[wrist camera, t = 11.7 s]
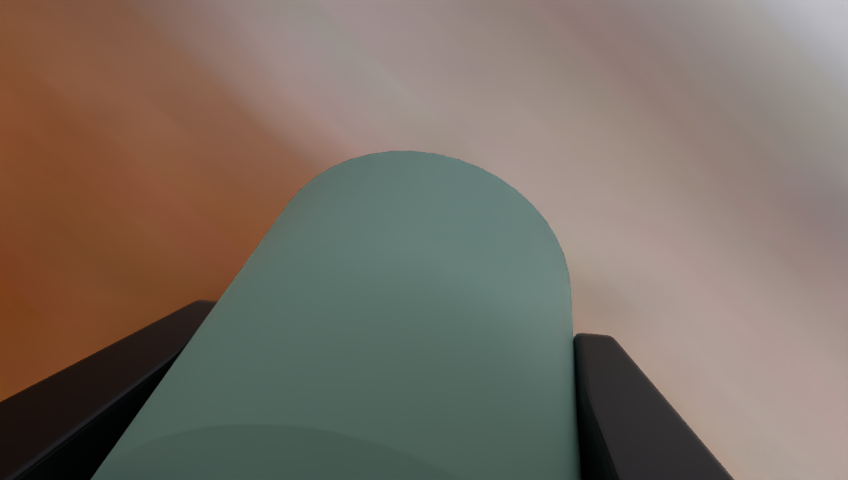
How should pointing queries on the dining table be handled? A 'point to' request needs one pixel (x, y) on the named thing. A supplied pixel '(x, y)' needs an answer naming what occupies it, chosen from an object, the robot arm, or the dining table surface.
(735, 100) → the dining table surface
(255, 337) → the bead
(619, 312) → the dining table surface
